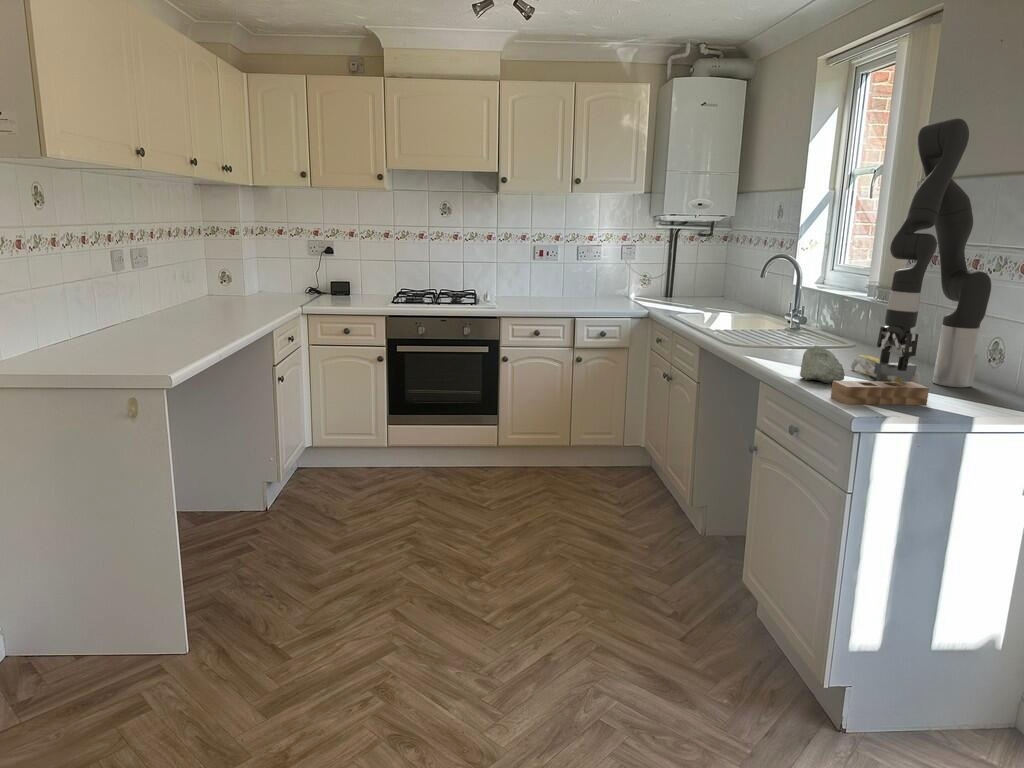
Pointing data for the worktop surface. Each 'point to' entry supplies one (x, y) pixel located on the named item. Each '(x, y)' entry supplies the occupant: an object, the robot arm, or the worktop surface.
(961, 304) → the robot arm
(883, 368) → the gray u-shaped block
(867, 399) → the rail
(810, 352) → the decorative stone
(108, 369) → the worktop surface
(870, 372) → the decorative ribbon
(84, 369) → the worktop surface
